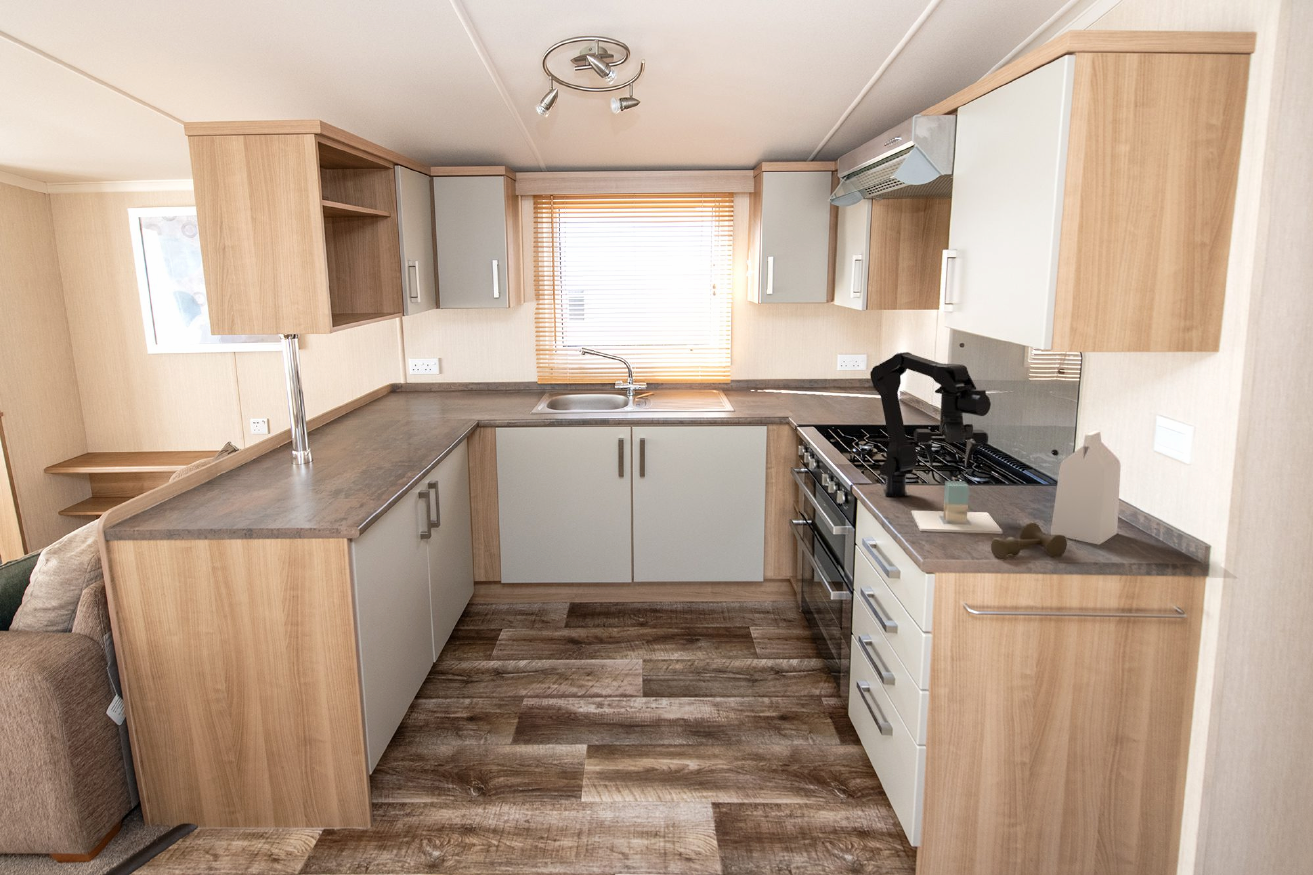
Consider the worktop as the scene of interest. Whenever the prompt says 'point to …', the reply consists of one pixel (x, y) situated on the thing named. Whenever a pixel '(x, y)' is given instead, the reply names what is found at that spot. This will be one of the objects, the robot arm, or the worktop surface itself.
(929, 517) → the baseplate
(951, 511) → the birch block
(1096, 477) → the milk
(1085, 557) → the worktop surface
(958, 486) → the teal block
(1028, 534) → the kendama
